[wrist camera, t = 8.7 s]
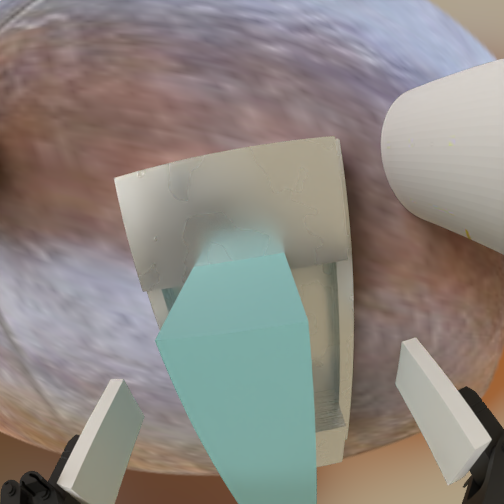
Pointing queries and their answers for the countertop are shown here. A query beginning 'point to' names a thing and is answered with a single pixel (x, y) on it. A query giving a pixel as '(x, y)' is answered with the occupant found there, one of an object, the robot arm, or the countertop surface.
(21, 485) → the robot arm
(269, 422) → the teal notched block
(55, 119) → the countertop surface
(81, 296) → the countertop surface
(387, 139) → the cup
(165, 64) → the countertop surface
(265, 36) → the countertop surface
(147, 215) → the white block holder tray
